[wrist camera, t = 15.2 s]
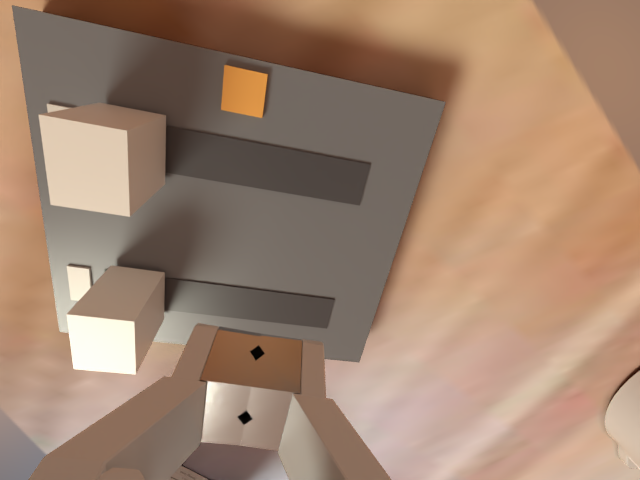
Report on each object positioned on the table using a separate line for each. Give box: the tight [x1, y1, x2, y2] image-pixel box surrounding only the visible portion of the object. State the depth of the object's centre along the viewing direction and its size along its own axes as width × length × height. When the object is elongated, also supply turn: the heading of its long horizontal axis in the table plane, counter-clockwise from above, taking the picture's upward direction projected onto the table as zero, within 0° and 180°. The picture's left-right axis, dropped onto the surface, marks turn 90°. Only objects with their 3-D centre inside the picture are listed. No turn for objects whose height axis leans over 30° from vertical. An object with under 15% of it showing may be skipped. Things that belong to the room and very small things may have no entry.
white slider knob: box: [66, 265, 165, 374], centre depth 19 cm, size 3×4×4 cm
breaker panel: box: [12, 5, 446, 362], centre depth 21 cm, size 20×18×2 cm
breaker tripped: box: [38, 103, 166, 217], centre depth 16 cm, size 3×4×4 cm
